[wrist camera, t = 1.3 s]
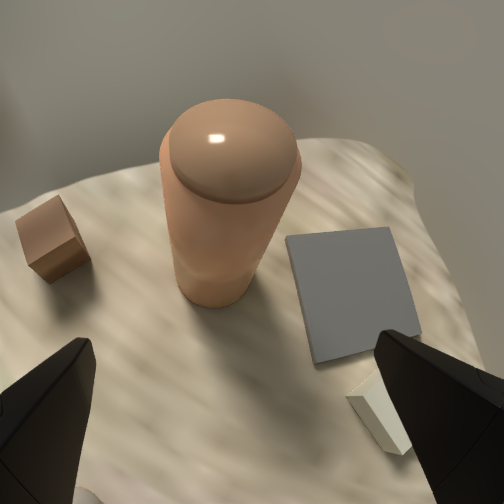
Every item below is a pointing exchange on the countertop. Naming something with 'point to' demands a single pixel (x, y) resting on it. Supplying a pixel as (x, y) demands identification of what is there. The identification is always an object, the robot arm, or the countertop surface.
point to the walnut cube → (51, 240)
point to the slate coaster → (350, 290)
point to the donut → (85, 497)
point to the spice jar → (225, 194)
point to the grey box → (379, 414)
